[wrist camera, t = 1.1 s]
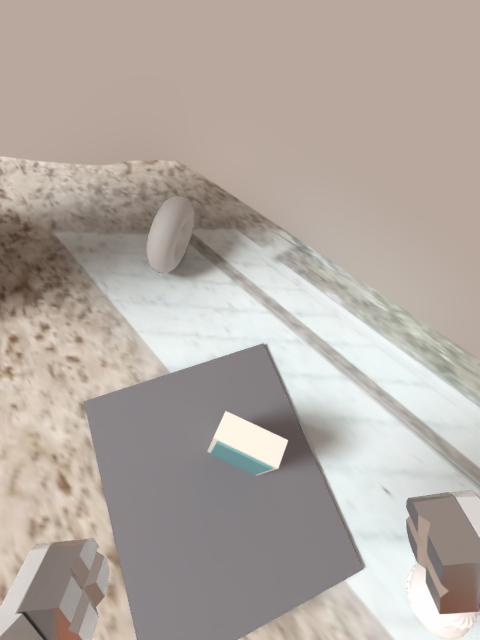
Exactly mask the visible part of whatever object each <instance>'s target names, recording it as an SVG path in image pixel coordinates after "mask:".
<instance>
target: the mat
mask: <svg viewBox="0 0 480 640" xmlns="http://www.w3.org/2000/svg"><path fill="white" fill-rule="evenodd" d="M84 404H85V408H86V413H87V417H88V422H89V426H90V431H91V435H92V440H93V444H94V449H95V453H96V458H97V462H98V467H99V471H100V476H101V480H102V485H103V489H104V494H105V498H106V503H107V507H108V512H109V516H110V521H111V525H112V530H113V534H114V539H115V543H116V548H117V552H118V557H119V561H120V566H121V570H122V574H123V579H124V583H125V588H126V592H127V597H128V601H129V606H130V610H131V615H132V619H133V624H134V628H135V633H136V637H137V640H237V639H239V638H241V637H243V636H245V635H246V634H248V633H250V632H252V631H253V630H255V629H257V628H259V627H261V626H262V625H264V624H266V623H268V622H270V621H271V620H273V619H275V618H277V617H279V616H280V615H282V614H284V613H286V612H288V611H289V610H291V609H293V608H295V607H296V606H298V605H300V604H302V603H304V602H305V601H307V600H309V599H311V598H313V597H314V596H316V595H318V594H320V593H322V592H323V591H325V590H327V589H329V588H330V587H332V586H334V585H336V584H338V583H339V582H341V581H343V580H345V579H347V578H348V577H350V576H352V575H354V574H356V573H357V572H359V571H361V570H363V567H362V565H361V563H360V561H359V558H358V556H357V554H356V552H355V549H354V547H353V545H352V543H351V540H350V538H349V536H348V534H347V531H346V529H345V527H344V524H343V522H342V520H341V518H340V515H339V513H338V511H337V509H336V506H335V504H334V502H333V500H332V497H331V495H330V493H329V491H328V488H327V486H326V484H325V481H324V479H323V477H322V475H321V472H320V470H319V468H318V466H317V463H316V461H315V459H314V457H313V454H312V452H311V450H310V447H309V445H308V443H307V441H306V438H305V436H304V434H303V432H302V429H301V427H300V425H299V423H298V420H297V418H296V416H295V414H294V411H293V409H292V407H291V404H290V402H289V400H288V398H287V395H286V393H285V391H284V389H283V386H282V384H281V382H280V380H279V377H278V375H277V373H276V371H275V368H274V366H273V364H272V361H271V359H270V357H269V355H268V352H267V350H266V348H265V346H264V343H263V344H260V345H257V346H254V347H251V348H248V349H244V350H241V351H238V352H235V353H232V354H229V355H226V356H223V357H220V358H217V359H214V360H211V361H207V362H204V363H201V364H198V365H195V366H192V367H189V368H186V369H183V370H180V371H177V372H174V373H171V374H167V375H164V376H161V377H158V378H155V379H152V380H149V381H146V382H143V383H140V384H137V385H134V386H130V387H127V388H124V389H121V390H118V391H115V392H112V393H109V394H106V395H103V396H100V397H97V398H93V399H90V400H87V401H84ZM225 411H227V412H229V413H231V414H233V415H236V416H238V417H240V418H242V419H244V420H246V421H248V422H250V423H253V424H255V425H257V426H259V427H261V428H263V429H265V430H267V431H270V432H272V433H274V434H276V435H278V436H280V437H282V438H284V439H287V440H288V442H287V445H286V448H285V451H284V454H283V457H282V460H281V462H280V465H279V468H278V469H276V470H273V471H270V472H266V473H263V474H260V475H252V474H250V473H248V472H246V471H244V470H242V469H240V468H238V467H236V466H233V465H231V464H229V463H227V462H225V461H223V460H221V459H219V458H217V457H215V456H213V455H211V454H210V453H209V452H207V451H208V449H209V446H210V444H211V442H212V440H213V437H214V435H215V433H216V431H217V429H218V426H219V424H220V422H221V420H222V418H223V416H224V413H225Z"/></svg>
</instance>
